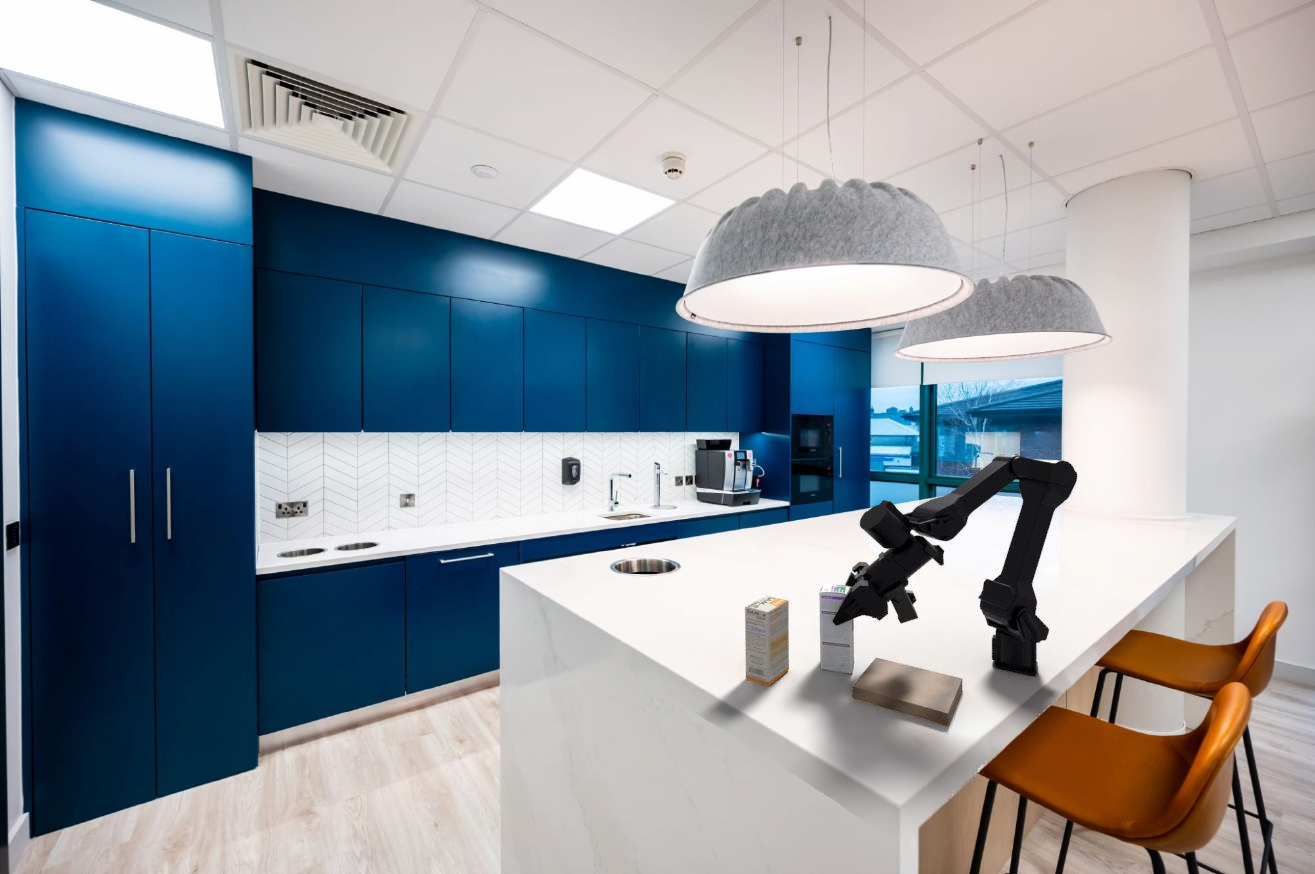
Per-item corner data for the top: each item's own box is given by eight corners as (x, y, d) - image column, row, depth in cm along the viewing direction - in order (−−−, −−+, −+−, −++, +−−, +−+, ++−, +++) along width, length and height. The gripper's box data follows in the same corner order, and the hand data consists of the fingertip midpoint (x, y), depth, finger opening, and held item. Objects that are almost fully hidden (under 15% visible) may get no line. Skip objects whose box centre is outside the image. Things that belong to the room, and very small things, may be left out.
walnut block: (962, 692, 91) (962, 678, 91) (947, 729, 80) (947, 713, 80) (875, 670, 99) (876, 657, 99) (851, 701, 88) (851, 686, 88)
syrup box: (853, 674, 97) (853, 594, 97) (819, 669, 99) (819, 590, 99) (854, 662, 102) (854, 585, 102) (821, 657, 104) (821, 582, 104)
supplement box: (766, 663, 102) (766, 594, 101) (789, 670, 99) (789, 599, 98) (743, 679, 95) (743, 605, 95) (768, 687, 92) (768, 610, 92)
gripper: (943, 614, 86) (868, 672, 90) (928, 583, 103) (866, 633, 107) (889, 561, 89) (819, 620, 93) (883, 539, 106) (825, 590, 110)
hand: (834, 616), depth 101 cm, fingers open, 7 cm apart
